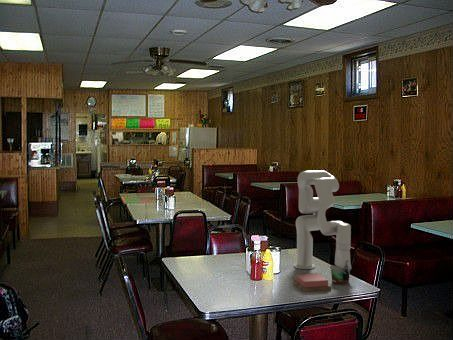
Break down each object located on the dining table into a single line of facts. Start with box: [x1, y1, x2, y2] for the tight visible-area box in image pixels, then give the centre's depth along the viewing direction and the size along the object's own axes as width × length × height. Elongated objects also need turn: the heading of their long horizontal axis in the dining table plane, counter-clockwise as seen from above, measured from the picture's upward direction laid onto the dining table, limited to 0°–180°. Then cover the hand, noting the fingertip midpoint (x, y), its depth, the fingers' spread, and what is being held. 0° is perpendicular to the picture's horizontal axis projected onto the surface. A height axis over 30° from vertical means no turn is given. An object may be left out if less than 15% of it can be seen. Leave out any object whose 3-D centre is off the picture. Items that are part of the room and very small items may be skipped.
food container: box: [329, 263, 352, 285], centre depth 265 cm, size 12×6×10 cm, turn 105°
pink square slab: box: [294, 272, 329, 287], centre depth 258 cm, size 13×13×3 cm
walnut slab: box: [293, 279, 332, 293], centre depth 258 cm, size 15×15×3 cm
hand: (342, 278), depth 265 cm, fingers open, 7 cm apart
